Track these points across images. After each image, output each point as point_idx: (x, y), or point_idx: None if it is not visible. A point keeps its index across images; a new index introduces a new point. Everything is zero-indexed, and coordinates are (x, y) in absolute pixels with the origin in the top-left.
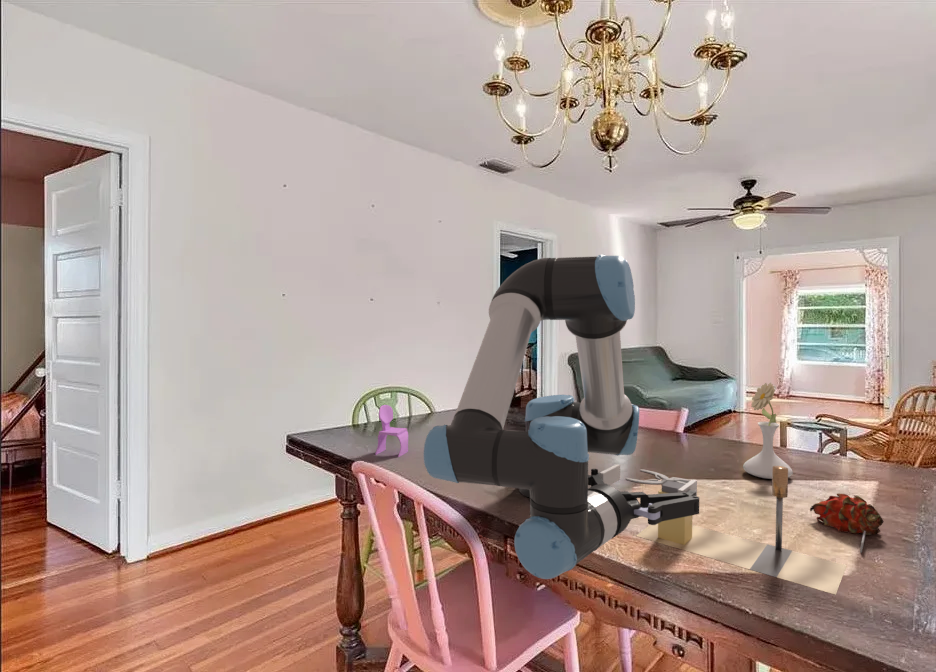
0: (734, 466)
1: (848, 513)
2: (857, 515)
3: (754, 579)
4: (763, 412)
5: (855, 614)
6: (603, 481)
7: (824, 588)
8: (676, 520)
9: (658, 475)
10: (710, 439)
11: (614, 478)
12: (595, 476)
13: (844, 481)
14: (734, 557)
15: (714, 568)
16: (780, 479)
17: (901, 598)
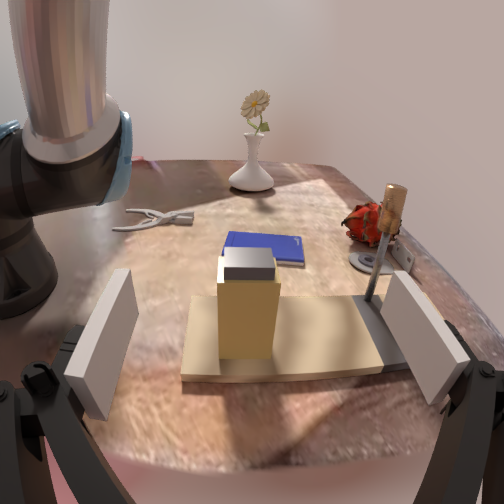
0: (216, 183)
1: None
2: None
3: (388, 375)
4: (249, 122)
5: None
6: (96, 400)
7: None
8: (258, 327)
9: (149, 213)
10: (178, 161)
11: (125, 332)
12: (55, 424)
13: (305, 182)
14: (349, 349)
15: (335, 385)
16: (400, 206)
17: (470, 313)
